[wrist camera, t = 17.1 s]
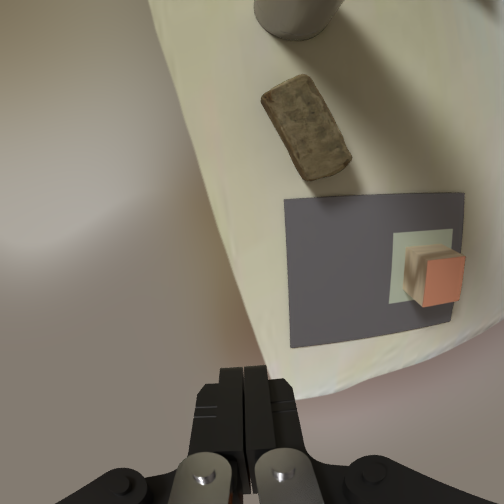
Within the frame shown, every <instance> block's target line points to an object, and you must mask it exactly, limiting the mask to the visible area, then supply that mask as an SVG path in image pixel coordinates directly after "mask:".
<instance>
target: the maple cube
mask: <svg viewBox="0 0 504 504" xmlns="http://www.w3.org/2000/svg"><path fill="white" fill-rule="evenodd" d="M465 257H466V256H464V255H462V254H460V253H458V252H456V251H454V250H452V249H451V248H449V247H447V246H445V245H443V244H432V245H421V246H411V247H406V252H405V267H404V279H403V290H404V291H405V292H406V293H408V294H409V295H410V296H411V297H412V298H413V299H414V300H415V301H416V302H417V303H418V304H420V305H421V306H422V307H428V306H434V305H439V304H444V303H449V302H454V301H459V298H460V292H461V286H462V280H463V273H464V265H465Z"/></svg>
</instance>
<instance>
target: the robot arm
mask: <svg viewBox="0 0 504 504" xmlns="http://www.w3.org/2000/svg"><path fill="white" fill-rule="evenodd" d="M343 1H344V0H254V13H255V16H256V19H257V20H258V22H259V23H260V25H261V26H262V27H263V28H264V29H265V30H267V31H268V32H270V33H271V34H273V35H275V36H277V37H280V38H283V39H287V40H305V39H309V38H312V37H314V36H316V35H318V34H319V33H320V32H321V31H323V29H324V28H325V26H326V25H327V24H328V22H329V21H330V19H331V18H332V17H333V15H334V14H335V13H336V11H337V10H338V8H339V7H340V6H341V4H342V3H343ZM250 478H251V481H250ZM251 483H252V489H253V493H254V494H257V493H258V495H259V502H260V504H497V503H494V502H491V501H488V500H485V499H483V498H480V497H477V496H474V495H472V494H469V493H466V492H464V491H461V490H459V489H456V488H454V487H451V486H449V485H446V484H444V483H442V482H439V481H437V480H434V479H432V478H430V477H427V476H425V475H423V474H421V473H419V472H417V471H414V470H412V469H410V468H408V467H406V466H404V465H401V464H399V463H397V462H395V461H393V460H391V459H389V458H387V457H384V456H379V455H369V456H364V457H361V458H359V459H357V460H356V461H354V462H353V463H351V464H350V466H340V465H329V464H324V463H321V462H319V461H316V460H315V459H313V458H312V457H311V456H310V455H309V454H308V453H307V451H306V449H305V446H304V442H303V436H302V432H301V427H300V422H299V417H298V412H297V408H296V403H295V398H294V393H293V388H292V387H291V386H290V385H289V384H288V382H287V381H286V380H285V379H284V378H282V379H272V380H268V376H267V367H266V365H260V366H247V367H244V374H243V368H242V367H234V368H220V375H219V383H218V384H205V385H204V387H203V388H202V389H201V390H200V392H199V393H198V394H197V400H196V408H195V413H194V419H193V425H192V432H191V438H190V445H189V452H188V456H187V458H185V459H184V460H183V461H182V462H181V463H180V464H179V466H178V468H177V469H176V470H174V471H172V472H170V473H166V474H162V475H157V476H152V477H147V478H144V477H143V476H142V475H141V474H140V473H139V472H137V471H135V470H133V469H129V468H116V469H113V470H110V471H108V472H106V473H105V474H103V475H102V476H100V477H98V478H97V479H95V480H94V481H92V482H91V483H89V484H87V485H86V486H84V487H83V488H81V489H79V490H78V491H76V492H75V493H73V494H71V495H69V496H68V497H66V498H65V499H63V500H61V501H59V502H58V503H56V504H243V494H251Z"/></svg>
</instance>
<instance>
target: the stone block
mask: <svg viewBox="0 0 504 504" xmlns="http://www.w3.org/2000/svg"><path fill="white" fill-rule="evenodd" d="M261 104H262V105H263V107H264V109H265V111H266V112H267V114H268V116H269V118H270V119H271V121H272V123H273V125H274V127H275V128H276V130H277V132H278V134H279V136H280V137H281V139H282V141H283V142H284V145H285V147H286V148H287V150H288V152H289V154H290V157H291V159H292V161H293V163H294V165H295V167H296V169H297V171H298V172H299V174H300V175H301V177H302V179H304V180H306V181H313V180H316V179H319V178H322V177H327V176H332V175H334V174H336V173H338V172H340V171H341V170H343V169H344V168H345V167H346V166H347V165H348V163H349V162H350V161H351V160H352V155H351V154H350V152H349V150H348V149H347V147H346V144H345V142H344V138H343V136H342V134H341V132H340V130H339V128H338V126H337V124H336V122H335V120H334V118H333V116H332V114H331V112H330V110H329V108H328V107H327V105H326V103H325V101H324V99H323V97H322V96H321V94H320V93H319V91H318V89H317V88H316V86H315V84H314V82H313V80H312V79H311V78H310V77H309V76H307V75H305V74H301V75H298V76H295V77H294V78H292V79H288V80H286V81H284V82H282V83H281V84H279V85H277V86H275V87H274V88H272V89H271V90H269V91H268V92H266V93H265V94H263V95H262V97H261Z"/></svg>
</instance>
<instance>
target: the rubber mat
mask: <svg viewBox="0 0 504 504" xmlns="http://www.w3.org/2000/svg"><path fill="white" fill-rule="evenodd" d="M464 194H465V193H410V194H377V195H352V196H332V197H314V198H299V199H284V210H285V227H286V246H287V266H288V289H289V316H290V347H291V348H295V347H304V346H312V345H320V344H328V343H335V342H342V341H349V340H355V339H362V338H368V337H374V336H380V335H385V334H391V333H396V332H402V331H407V330H412V329H417V328H422V327H427V326H431V325H436V324H440V323H445V322H449V321H450V320H451V315H452V309H453V304H454V302H449V303H444V304H439V305H434V306H428V307H422V306H421V305H420V304H418V303H417V302H416V301H415V300H414V299H413V298H412V297H411V296H410V295H409V294H408V293H406V292H405V291H404V290H403V279H404V267H405V252H406V247H411V246H421V245H432V244H443V245H445V246H447V247H449V248H451V249H452V250H454V251H456V252H458V253H460V254H461V245H462V233H463V219H464Z"/></svg>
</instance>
